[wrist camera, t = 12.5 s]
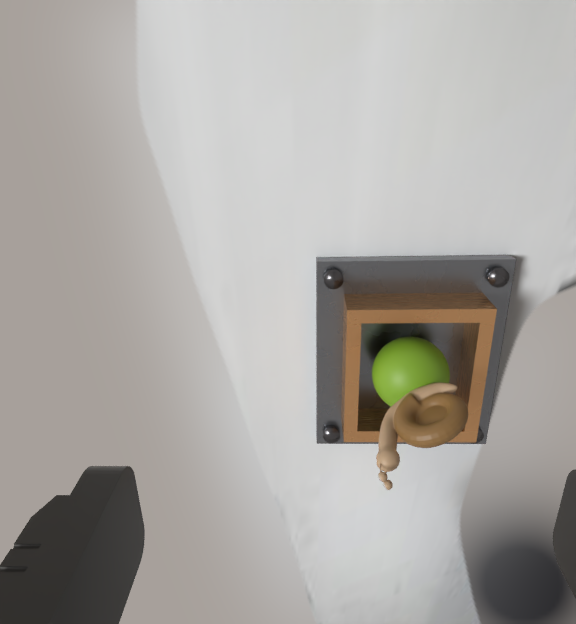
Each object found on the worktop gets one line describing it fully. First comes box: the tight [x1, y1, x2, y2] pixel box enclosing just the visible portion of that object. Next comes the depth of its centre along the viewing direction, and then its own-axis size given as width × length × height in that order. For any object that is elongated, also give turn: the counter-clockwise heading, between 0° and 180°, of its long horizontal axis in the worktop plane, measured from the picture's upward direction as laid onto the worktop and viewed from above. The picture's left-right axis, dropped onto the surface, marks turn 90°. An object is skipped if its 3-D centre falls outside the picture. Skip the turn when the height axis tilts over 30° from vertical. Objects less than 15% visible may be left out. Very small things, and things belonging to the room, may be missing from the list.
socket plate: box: [316, 255, 516, 444], centre depth 38 cm, size 16×14×4 cm
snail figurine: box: [372, 337, 468, 490], centre depth 33 cm, size 5×6×12 cm
